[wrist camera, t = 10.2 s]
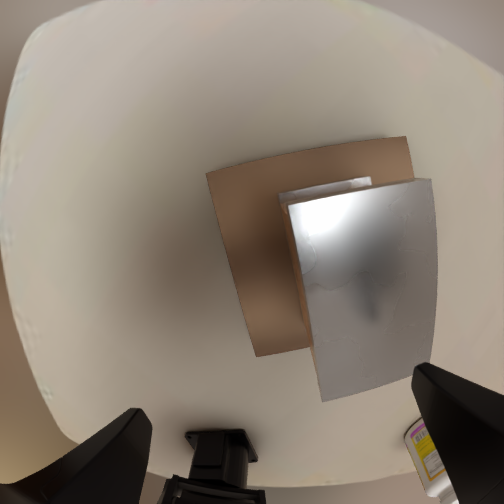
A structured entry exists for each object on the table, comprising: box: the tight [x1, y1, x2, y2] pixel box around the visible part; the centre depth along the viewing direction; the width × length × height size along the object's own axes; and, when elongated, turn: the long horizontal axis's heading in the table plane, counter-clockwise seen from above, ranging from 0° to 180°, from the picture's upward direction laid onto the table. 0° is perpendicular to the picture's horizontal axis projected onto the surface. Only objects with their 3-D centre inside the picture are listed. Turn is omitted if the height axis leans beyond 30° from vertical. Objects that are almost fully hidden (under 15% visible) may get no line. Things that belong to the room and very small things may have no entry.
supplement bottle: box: [405, 419, 459, 504], centre depth 17 cm, size 7×7×13 cm
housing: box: [277, 176, 438, 402], centre depth 12 cm, size 5×8×7 cm, turn 14°
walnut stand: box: [206, 136, 414, 357], centre depth 17 cm, size 12×12×2 cm
